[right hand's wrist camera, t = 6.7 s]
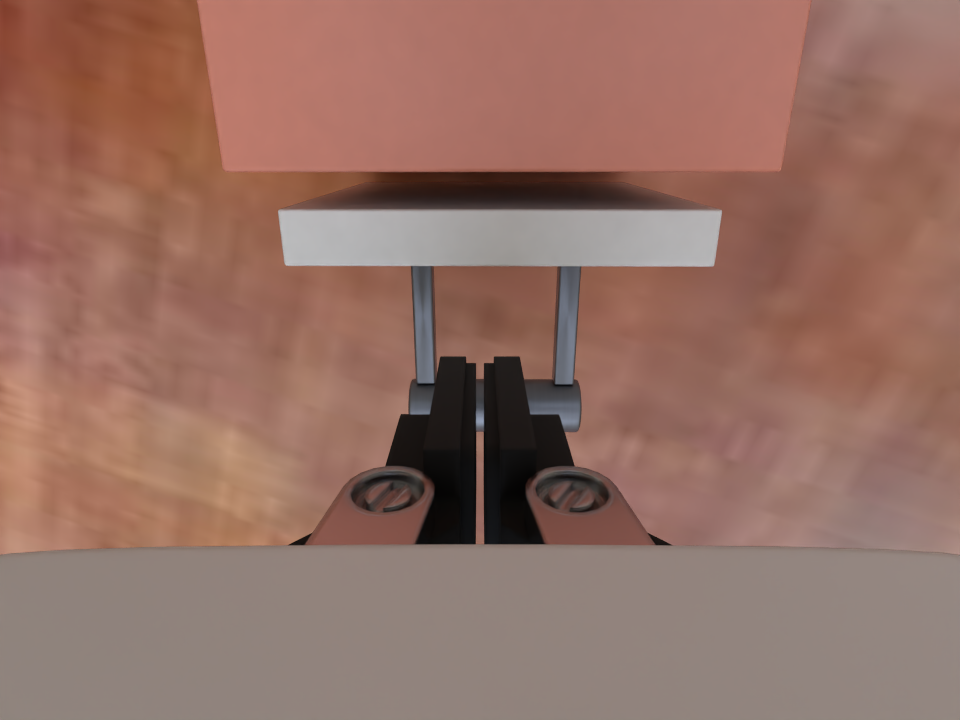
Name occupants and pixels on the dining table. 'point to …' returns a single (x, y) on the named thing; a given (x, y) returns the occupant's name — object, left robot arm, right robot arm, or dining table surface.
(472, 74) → the cabinet
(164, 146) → the dining table surface
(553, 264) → the drawer
